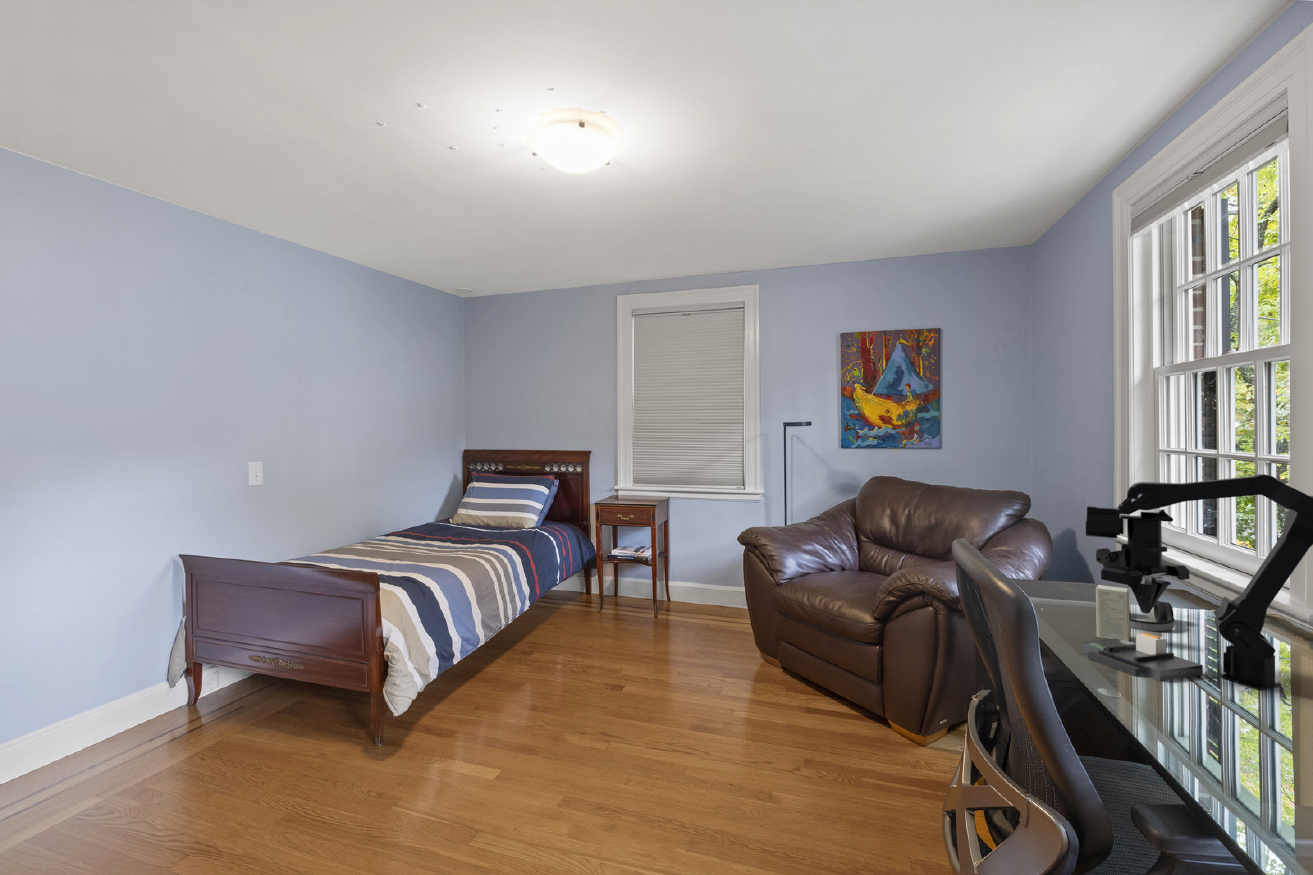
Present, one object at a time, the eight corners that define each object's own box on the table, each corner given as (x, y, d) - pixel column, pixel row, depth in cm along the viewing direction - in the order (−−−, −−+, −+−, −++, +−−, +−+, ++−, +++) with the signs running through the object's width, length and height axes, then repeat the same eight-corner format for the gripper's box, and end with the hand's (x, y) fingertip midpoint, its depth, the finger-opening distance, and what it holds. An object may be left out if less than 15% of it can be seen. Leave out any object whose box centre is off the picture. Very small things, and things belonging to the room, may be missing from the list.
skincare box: (1130, 638, 142) (1130, 588, 142) (1128, 643, 139) (1128, 591, 139) (1097, 632, 147) (1098, 583, 147) (1095, 636, 144) (1095, 587, 144)
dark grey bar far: (1122, 646, 137) (1122, 640, 137) (1089, 650, 134) (1089, 644, 134) (1116, 644, 138) (1116, 638, 138) (1083, 648, 136) (1083, 642, 136)
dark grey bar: (1140, 675, 120) (1140, 668, 120) (1135, 676, 120) (1135, 669, 120) (1092, 657, 130) (1092, 651, 130) (1087, 658, 129) (1087, 652, 129)
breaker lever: (1166, 655, 126) (1166, 637, 126) (1155, 656, 125) (1155, 638, 125) (1146, 648, 130) (1146, 631, 130) (1135, 649, 129) (1136, 632, 129)
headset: (1171, 580, 160) (1176, 604, 144) (1171, 614, 160) (1176, 642, 145) (1109, 573, 168) (1107, 595, 152) (1108, 605, 169) (1107, 631, 153)
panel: (1202, 674, 120) (1202, 661, 120) (1159, 680, 117) (1159, 666, 117) (1122, 647, 136) (1122, 635, 136) (1082, 652, 133) (1082, 640, 133)
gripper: (1135, 533, 137) (1136, 600, 137) (1075, 537, 132) (1076, 606, 132) (1190, 540, 127) (1191, 613, 127) (1128, 545, 121) (1129, 621, 121)
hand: (1145, 612), depth 127 cm, fingers closed
